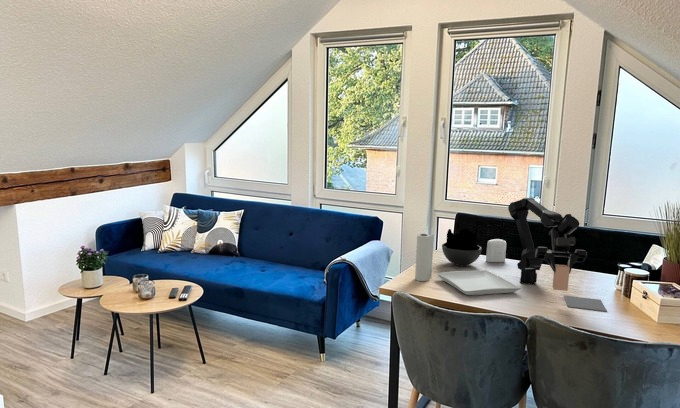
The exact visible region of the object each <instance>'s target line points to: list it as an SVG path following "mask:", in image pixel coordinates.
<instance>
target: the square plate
mask: <svg viewBox="0 0 680 408" xmlns="http://www.w3.org/2000/svg"><path fill="white" fill-rule="evenodd" d="M435 274H436V275H437V277H439V278H440V279H441V280H442V281H444V282H445V283H447V284H449V285H450V286H452V287H453V288H455V289H457V290H458V291H460V292H461V293H463V294H464V295H468V296H469V295H470V296H479V295H480V296H482V295H495V294H509V293H516V292H518V291H520V290H521V289H522V288H521V287H520V286H519V285H516V284H514V283H513V282H511V281H509V280H507V279H505V278H504V277H502V276H500V275H497V274H495V273H493V272H491V271H489V270H487V269H486V270H485V269H483V270H482V269H481V270H458V271H454V270H453V271H446V272H445V271H443V272H436V273H435Z"/></svg>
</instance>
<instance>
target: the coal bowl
mask: <svg viewBox="0 0 680 408" xmlns="http://www.w3.org/2000/svg"><path fill="white" fill-rule="evenodd" d="M476 238H477V235H476V233H474V232H472V230H471V231H470V230H469V229H468V228H463V229H462V230H459V233H458V234H457V233H456V234H454V233H453V232H452V229H451V228H449V229H448V230H447V232H446V242H445V243H443V244H442V245H441V249H442V252H443V255H444V257H445V258H446V260H448V261H449V262H450V263H452V264H454V265H456V266H458V267H459V266H462V267H464V266H469V265H471V264H473V263H474V262H476V261H477V260H478V259H479V258H480V255H481V254H482V251H483V249H482V246H480V245H478V244H477V240H476Z"/></svg>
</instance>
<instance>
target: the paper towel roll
mask: <svg viewBox="0 0 680 408" xmlns="http://www.w3.org/2000/svg"><path fill="white" fill-rule="evenodd" d="M416 237H417V238H416V250H415V251H416V254H415V273H414V274H415V275H414V279H415V280H416V281H417V282H427V281H429V280H431V279H432V275H433V274H432V273H433V257H434V256H433V255H434V253H433V252H434V237H435V234H428V233H418V234H417V235H416Z"/></svg>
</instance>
